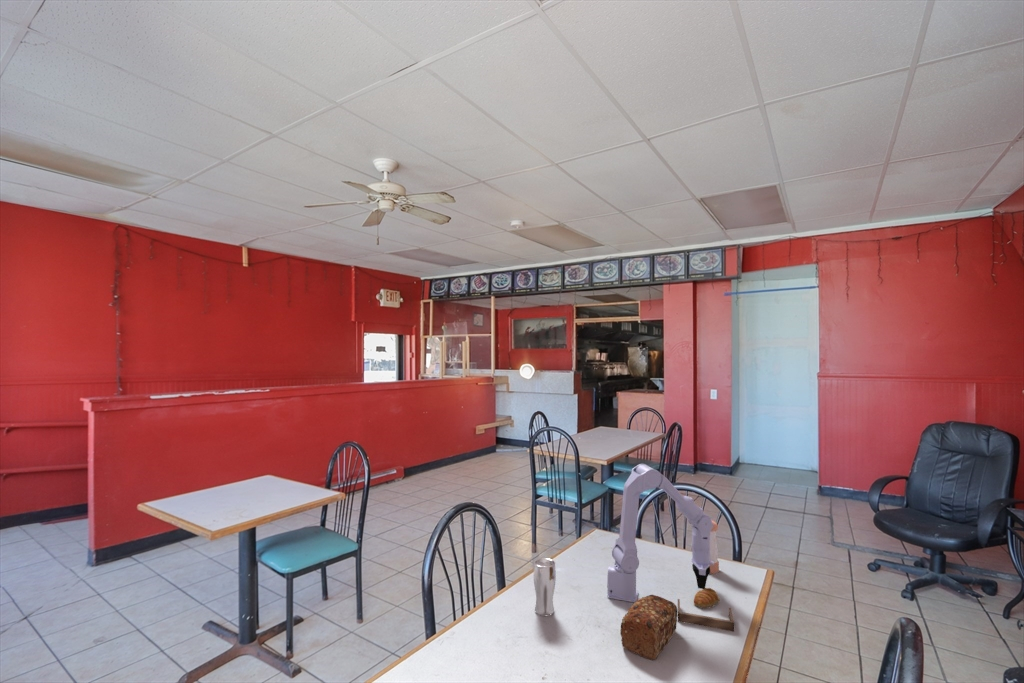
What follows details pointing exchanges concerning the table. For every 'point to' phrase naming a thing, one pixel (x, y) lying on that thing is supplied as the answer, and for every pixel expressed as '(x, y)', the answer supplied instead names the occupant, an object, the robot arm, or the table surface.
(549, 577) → the beer glass
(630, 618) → the bread
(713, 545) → the pepper shaker
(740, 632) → the table surface
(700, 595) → the pastry
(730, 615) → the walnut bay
